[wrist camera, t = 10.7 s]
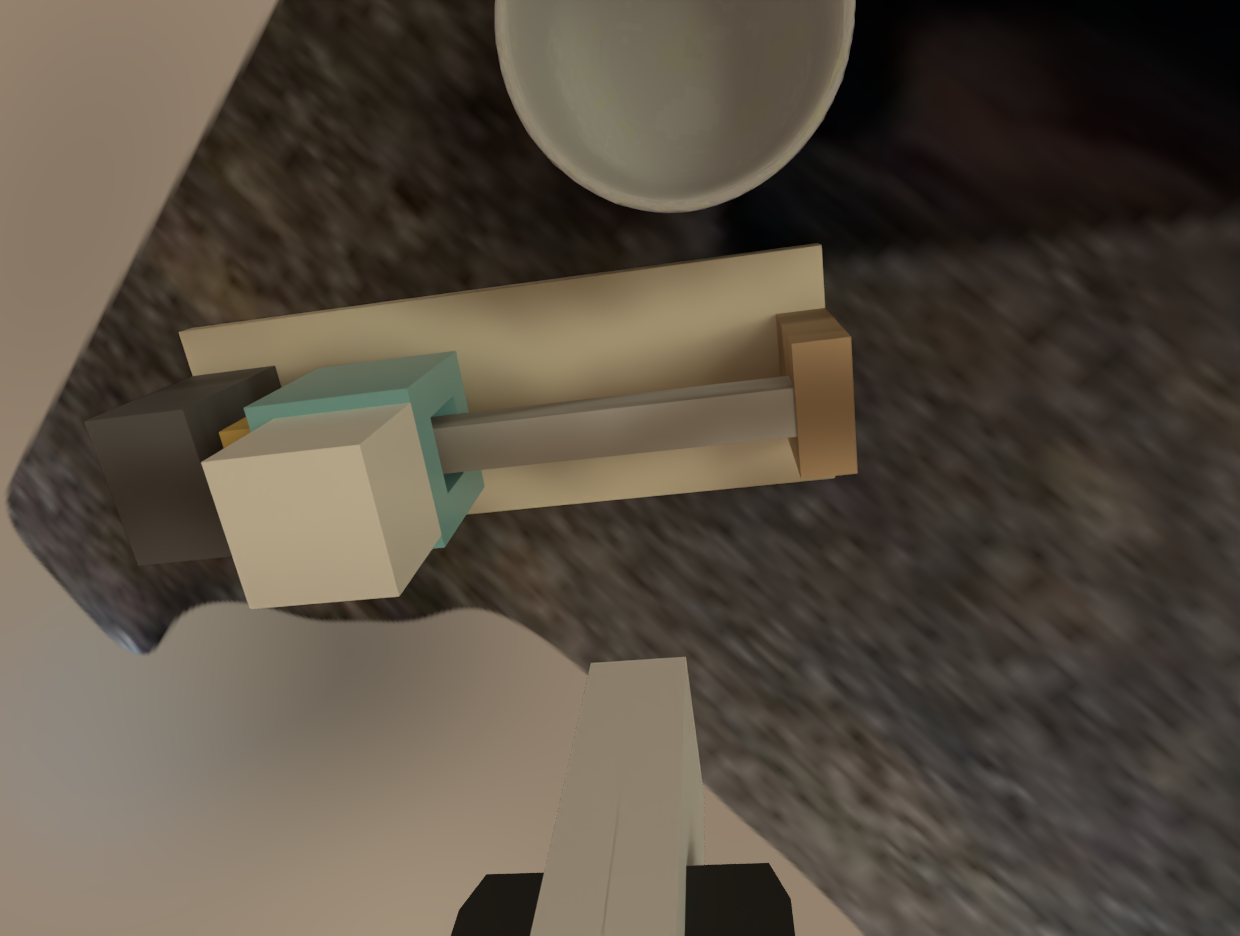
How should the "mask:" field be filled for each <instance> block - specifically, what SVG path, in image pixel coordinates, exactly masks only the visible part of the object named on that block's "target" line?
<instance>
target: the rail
mask: <svg viewBox="0 0 1240 936" xmlns="http://www.w3.org/2000/svg"><path fill="white" fill-rule="evenodd" d="M179 335H180V339H181V342H182V345H183V348H184V351H185V354H186V357H187V360H188V363H189V366H190V369H191V372H192V375H193V376H192V377H189V378H187V379H184V380H182V381H180V382H177V383H175V384H172V385H170V386H168V387H165V388H163V389H160V390H158V391H156V392H153V393H151V394H148V395H146V396H144V397H141V398H139V399H136V400H134V401H132V402H129V403H127V404H124V405H122V406H120V407H117V408H115V409H112V410H110V411H108V412H105V413H103V414H100V415H98V416H96V417H93V418H91V419H88V420H86V421H84V423H85V426H86V429H87V431H88V434H89V436H90V439H91V442H92V444H93V447H94V450H95V452H96V455H97V458H98V460H99V463H100V466H101V468H102V471H103V474H104V476H105V479H106V481H107V484H108V487H109V489H110V492H111V495H112V497H113V500H114V503H115V505H116V508H117V511H118V513H119V516H120V519H121V521H122V524H123V526H124V529H125V532H126V534H127V537H128V540H129V542H130V545H131V548H132V550H133V553H134V556H135V558H136V561H137V564H138V566H140V565H150V564H161V563H171V562H182V561H193V560H203V559H214V558H224V557H232V554H231V551H230V548H229V545H228V542H227V539H226V536H225V533H224V530H223V527H222V524H221V521H220V518H219V515H218V512H217V509H216V506H215V503H214V500H213V497H212V494H211V491H210V488H209V485H208V482H207V479H206V476H205V473H204V470H203V467H202V464H201V462H202V461H204V460H206V459H207V458H209V457H211V456H212V455H214V454H216V453H217V452H219V451H221V450H222V449H224V448H226V447H227V446H229V445H231V444H232V443H234V442H236V441H237V440H239V439H241V438H242V437H244V436H246V435H247V434H249V433H251V431H250V428H249V425H248V421H247V418H246V415H245V412H244V407H246V406H248V405H250V404H252V403H254V402H256V401H257V400H259V399H261V398H263V397H265V396H267V395H269V394H270V393H272V392H274V391H276V390H278V389H280V388H282V387H284V386H285V385H287V384H289V383H291V382H293V381H295V380H297V379H299V378H300V377H302V376H304V375H306V374H308V373H310V372H312V371H313V370H315V369H317V368H323V367H331V366H339V365H347V364H354V363H362V362H370V361H378V360H386V359H394V358H402V357H410V356H418V355H426V354H434V353H442V352H450V351H456V353H457V358H458V363H459V368H460V372H461V377H462V382H463V387H464V391H465V396H466V401H467V405H468V410H469V413H461V414H453V415H444V416H435V417H430V419H431V423H432V427H433V432H434V436H435V441H436V445H437V449H438V454H439V458H440V462H441V467H442V471H443V474H448V473H457V472H467V471H476V470H481V472H482V476H483V481H484V486H485V487H484V489H483V490H482V492H481V493H480V495H479V496H478V498H477V499H476V501H475V502H474V504H473V505H472V507H471V508H470V510H469V511H468V513H467V514H476V513H486V512H497V511H507V510H517V509H527V508H537V507H547V506H558V505H568V504H578V503H588V502H598V501H608V500H619V499H629V498H639V497H649V496H659V495H669V494H680V493H690V492H700V491H710V490H720V489H730V488H741V487H751V486H761V485H771V484H781V483H791V482H802V481H812V480H822V479H832V478H835V476H837V475H847V474H857V452H856V431H855V409H854V388H853V367H852V345H851V336H850V335H849V334H848V333H847V332H846V330H845V329H844V328H843V327H842V326H841V325H840V324H839V323H838V322H837V320H836V319H835V318H834V317H833V316H832V315H831V314H830V313H829V312H828V311H827V309H826V308H825V297H824V279H823V262H822V245H820V244H819V243H815V244H808V245H800V246H793V247H785V248H778V249H771V250H763V251H756V252H749V253H741V254H734V255H726V256H719V257H712V258H704V259H697V260H690V261H682V262H675V263H667V264H660V265H653V266H645V267H638V268H631V269H623V270H616V271H609V272H601V273H594V274H586V275H579V276H572V277H564V278H557V279H550V280H542V281H535V282H527V283H520V284H513V285H505V286H498V287H491V288H483V289H476V290H468V291H461V292H454V293H446V294H439V295H432V296H424V297H417V298H409V299H402V300H395V301H387V302H380V303H373V304H365V305H358V306H350V307H343V308H336V309H328V310H321V311H314V312H306V313H299V314H292V315H284V316H277V317H269V318H262V319H255V320H247V321H240V322H233V323H225V324H218V325H210V326H203V327H196V328H190V329H187V330H184V331H181V332H179Z"/></svg>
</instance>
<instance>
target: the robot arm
mask: <svg viewBox="0 0 1240 936" xmlns="http://www.w3.org/2000/svg"><path fill="white" fill-rule="evenodd" d="M451 936H795V932H794V923H793V914H792V906H791V899H790V897H789V896H788V894H787V892H786V891H785V889H784V887H783V886H782V885H781V882H780V881H779V879H778V877H777V876H776V874H775V872H774V871H773V869H772V868H771V866H770V864H769V863H758V864H724V865H704V792H703V784H702V776H701V769H700V761H699V754H698V746H697V738H696V731H695V723H694V716H693V708H692V700H691V693H690V685H689V678H688V670H687V662H686V657H675V658H660V659H645V660H630V661H615V662H600V663H591V665H590V669H589V673H588V678H587V682H586V687H585V691H584V696H583V701H582V705H581V709H580V714H579V718H578V723H577V727H576V732H575V736H574V741H573V745H572V750H571V754H570V759H569V764H568V768H567V773H566V777H565V781H564V786H563V790H562V795H561V799H560V804H559V808H558V813H557V817H556V822H555V826H554V831H553V835H552V840H551V844H550V849H549V853H548V858H547V862H546V867H545V871H544V873H520V874H488V875H486V876H485V877H484V878H483V880H482V881H481V882H480V884H479V885H478V886H477V887H476V889H475V890H474V891H473V893H472V894H471V895H470V897H469V898H468V899H467V901H466V902H465V903H464V904H463V906H462V907H461V908H460V910H459V912H458V915H457V918H456V921H455V925H454V928H453V931H452V934H451Z"/></svg>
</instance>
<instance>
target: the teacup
mask: <svg viewBox="0 0 1240 936" xmlns="http://www.w3.org/2000/svg"><path fill="white" fill-rule="evenodd" d="M855 5H856V0H495V40H496V47H497V52H498V58H499V63H500V69H501V73H502V76H503V79H504V83H505V86H506V89H507V92H508V94H509V97H510V99H511V101H512V104H513V106H514V109H515V111H516V113H517V115H518V117H519V119H520V120H521V122H522V124H523V126H524V128H525V130H526V131H527V133H528V134H529V135H530V137H531V138H532V139H533V141H534V142H535V143H536V145H537V146H538V147H539V148H540V150H541V151H542V152H543V153H544V154H545V155H546V156H547V157H548V159H549V160H550V161H551V162H552V163H553V164H554V165H555V166H556V167H558V168H559V169H560V170H562V171H563V172H564V173H565V174H566V175H567V176H569V177H570V178H571V179H572V180H573V181H575V182H576V183H578V184H579V185H581V186H583V187H584V188H586V189H588V190H589V191H591V192H593V193H594V194H596V195H598V196H600V197H602V198H604V199H606V200H608V201H611V202H613V203H615V204H618V205H622V206H626V207H630V208H634V209H638V210H643V211H649V212H658V213H680V212H691V211H696V210H701V209H706V208H709V207H712V206H716V205H719V204H721V203H724V202H726V201H729V200H732V199H734V198H737V197H739V196H740V195H742V194H744V193H746V192H748V191H750V190H752V189H754V188H755V187H757V186H758V185H760V184H762V183H763V182H765V181H766V180H768V179H769V178H770V177H772V176H773V175H774V174H776V173H777V172H778V171H779V170H780V169H782V168H783V167H784V166H785V165H786V164H787V163H788V162H789V161H790V160H791V159H792V158H793V157H794V156H795V155H797V154H798V153H799V152H800V150H801V149H802V148H803V147H804V145H805V144H806V143H807V141H808V140H809V139H810V138H811V136H812V135H813V134H814V132H815V131H816V129H817V128H818V127H819V125H820V124H821V122H822V121H823V120H824V117H825V114H826V113H827V111H828V109H829V108H830V106H831V104H832V103H833V100H834V98H835V95H836V93H837V91H838V88H839V86H840V84H841V82H842V80H843V76H844V71H845V68H846V65H847V62H848V59H849V51H850V47H851V43H852V38H853V31H854V23H855V19H854V16H855Z"/></svg>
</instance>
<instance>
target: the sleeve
mask: <svg viewBox="0 0 1240 936" xmlns="http://www.w3.org/2000/svg"><path fill="white" fill-rule="evenodd" d="M244 412H245V415H246V418H247V421H248V425H249V428H250V431H251V433H249V434H247V435H246V436H244V437H242V438H241V439H239V440H237V441H236V442H234V443H232V444H231V445H229V446H227V447H226V448H224V449H222V450H221V451H219V452H217V453H216V454H214V455H212V456H211V457H209V458H207V459H206V460H204V461H202V462H201V464H202V467H203V470H204V473H205V476H206V479H207V482H208V485H209V488H210V491H211V494H212V497H213V500H214V503H215V506H216V509H217V512H218V515H219V518H220V521H221V524H222V527H223V530H224V533H225V536H226V539H227V542H228V545H229V548H230V551H231V554H232V557H233V560H234V563H235V566H236V569H237V572H238V575H239V578H240V581H241V584H242V587H243V590H244V593H245V596H246V599H247V602H248V605H249V608H250V609H259V608H270V607H282V606H294V605H305V604H317V603H329V602H340V601H352V600H364V599H375V598H387V597H399V596H400V595H401V593H402V592H403V590H404V589H405V587H406V586H407V585H408V583H409V582H410V580H411V579H412V577H413V576H414V574H415V573H416V572H417V570H418V569H419V567H420V566H421V564H422V563H423V561H424V560H425V559H426V557H427V556H428V554H429V553H430V551H431V550H432V549H434V548H444V547H445V546H446V545H447V543H448V542H449V540H450V539H451V537H452V536H453V534H454V533H455V531H456V530H457V528H458V526H459V525H460V523H461V522H462V520H463V519H464V517H465V516H466V514H467V513H468V511H469V510H470V508H471V507H472V505H473V504H474V502H475V501H476V499H477V498H478V496H479V495H480V493H481V492H482V490H483V489H484V487H485V486H484V481H483V476H482V472H481V470H476V471H467V472H457V473H448V474H443V471H442V467H441V462H440V458H439V454H438V449H437V445H436V441H435V436H434V432H433V427H432V423H431V419H430V417H435V416H444V415H453V414H461V413H469V410H468V405H467V401H466V396H465V391H464V387H463V382H462V377H461V372H460V368H459V363H458V358H457V353H456V351H450V352H442V353H434V354H426V355H418V356H410V357H402V358H394V359H386V360H378V361H370V362H362V363H354V364H347V365H339V366H331V367H323V368H317V369H315V370H313V371H312V372H310V373H308V374H306V375H304V376H302V377H300V378H299V379H297V380H295V381H293V382H291V383H289V384H287V385H285V386H284V387H282V388H280V389H278V390H276V391H274V392H272V393H270V394H269V395H267V396H265V397H263V398H261V399H259V400H257V401H256V402H254V403H252V404H250V405H248V406H246V407H244Z"/></svg>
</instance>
